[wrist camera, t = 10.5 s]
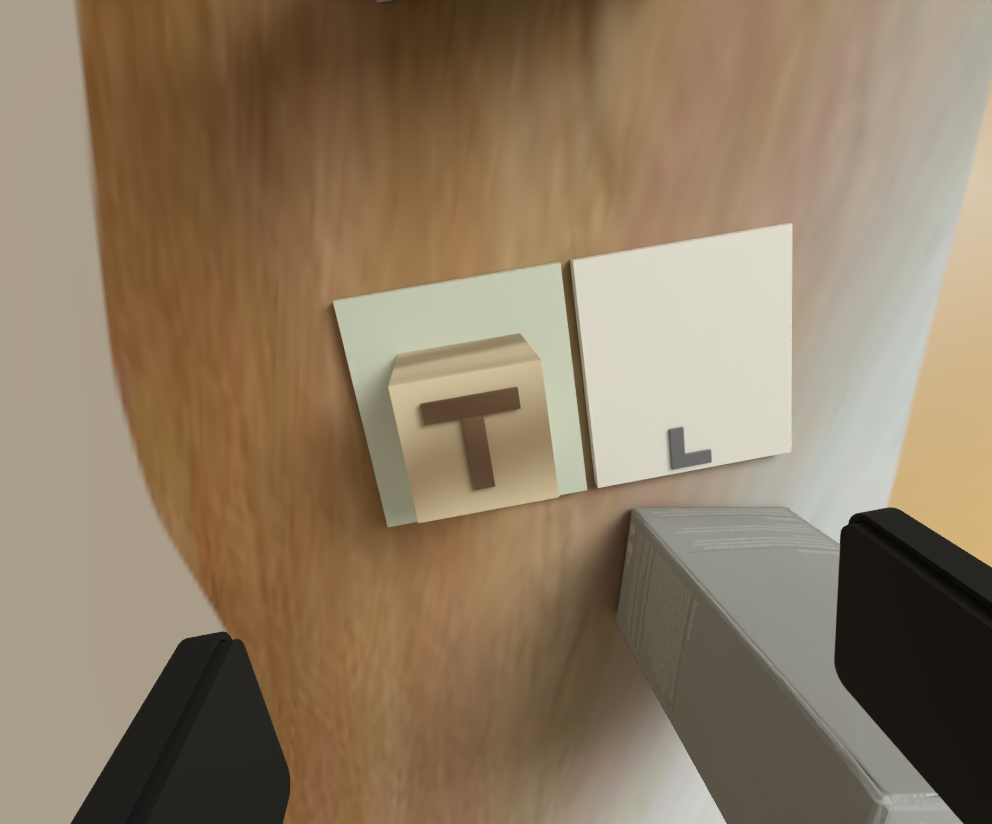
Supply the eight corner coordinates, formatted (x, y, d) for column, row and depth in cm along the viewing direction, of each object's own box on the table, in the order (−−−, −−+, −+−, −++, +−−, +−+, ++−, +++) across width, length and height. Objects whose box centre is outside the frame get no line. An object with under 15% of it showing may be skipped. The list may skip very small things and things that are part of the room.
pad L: (569, 259, 24) (573, 260, 23) (783, 223, 24) (794, 223, 23) (594, 482, 27) (599, 489, 26) (783, 447, 27) (793, 453, 26)
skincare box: (610, 617, 29) (796, 1032, 14) (631, 486, 27) (876, 810, 12) (770, 617, 30) (1101, 1006, 15) (802, 491, 28) (1224, 797, 13)
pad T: (335, 299, 23) (332, 301, 23) (557, 262, 24) (561, 262, 23) (388, 520, 26) (387, 529, 26) (583, 484, 27) (588, 491, 26)
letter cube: (397, 353, 24) (387, 388, 19) (519, 333, 24) (542, 361, 19) (422, 471, 25) (419, 531, 20) (536, 450, 25) (561, 505, 20)
